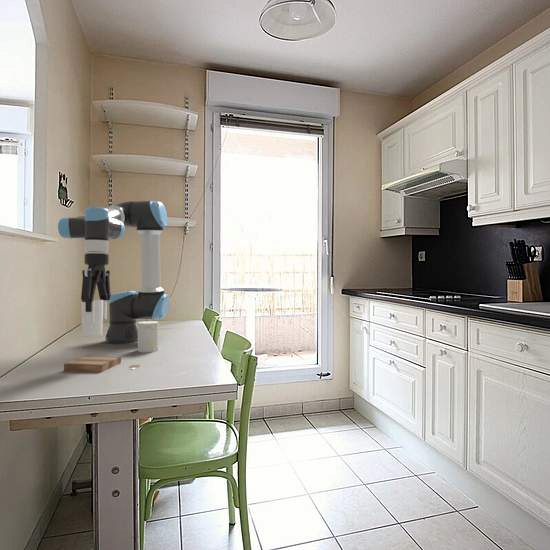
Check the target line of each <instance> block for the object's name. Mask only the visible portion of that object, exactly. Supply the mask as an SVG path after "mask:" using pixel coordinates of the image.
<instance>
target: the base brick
mask: <svg viewBox="0 0 550 550" xmlns="http://www.w3.org/2000/svg"><path fill="white" fill-rule="evenodd" d="M121 363H122V357H121V356H105V355H101V356H99V355H85V356H81V357H80V358H76V359H73V360H71V361H68V362H66V363H63V372H64V373H65V372H71V373H73V372H75V373H77V372H78V373H103V372H105V371H107V370H110V369H111V368H113V367H116V366H118V365H120V364H121Z"/></svg>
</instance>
